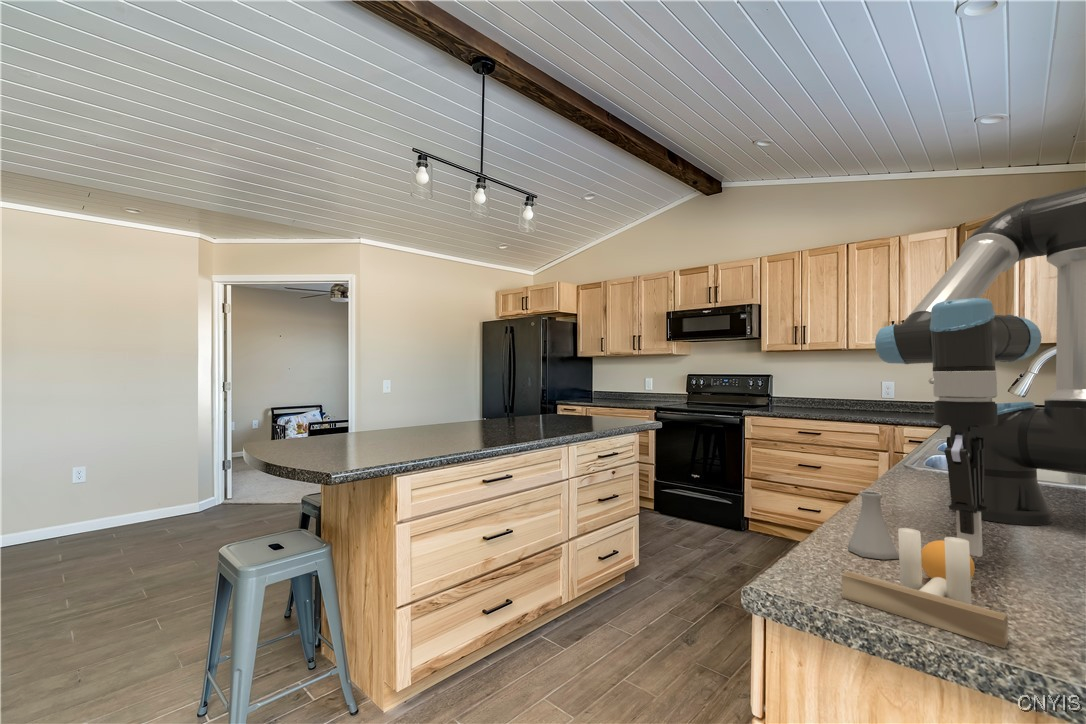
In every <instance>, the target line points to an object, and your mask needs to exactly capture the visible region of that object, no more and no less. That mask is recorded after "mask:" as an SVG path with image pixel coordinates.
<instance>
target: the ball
mask: <svg viewBox="0 0 1086 724" xmlns="http://www.w3.org/2000/svg"><path fill="white" fill-rule="evenodd" d="M921 560H922V571H924V573H925V574H926V576H928V578H930V580H931V579H932V578H934V577H941V578H944V579H945V580H946V565H945V539H943V540H933V541H930V542H928V543H927V544H925V545H924V546H923V547H922V548H921ZM975 567H976V566H975V563H974V560H973V558H972V555H970V578H971V580H972V579H973V576H974V575H975V571H976V569H975Z"/></svg>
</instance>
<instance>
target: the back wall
mask: <svg viewBox="0 0 1086 724" xmlns="http://www.w3.org/2000/svg"><path fill="white" fill-rule="evenodd" d="M841 591H842V593H841V594H842V595H841V598H842V599H846V600H848V601H852V602H854V603H859V604H861V605H865V606H867V607H871V608H873V609H878V610H879V611H880V610H881V611H883V612H887V613H890V614H893V615H897V616H900V617H903V618H906V619H910V620H913V621H916V622H919V623H922V624H924V625H925V624H926V625H928V626H932V627H935V628H938V629H941V630H945V631H949V632H951V633H954V634H957V635H960V636H962V637H963V636H964V637H968V638H970V639H974V640H977V641H980V642H983V643H987V644H989V645H992V646H996V647H999V648H1002V649H1006V647H1007V645H1008V644H1009V627H1008V626H1009V624H1008V622H1009V621H1008V619H1009V618H1008V614H1006V613H1003V612H999V611H996V610H992V609H988V608H986V607H985V608H984V607H981V606H977V605H974V604H972V603H971V604H967V603H963V602H960V601H956V600H952V599H949V598H945V597H941V596H938V595H934V594H930V593H927V592H923V591H919V590H916V589H912V588H908V587H905V586H901V585H900V584H897V583H894V582H891V581H885V580H883V579H882V580H881V579H878V578H874V577H871V576H868V575H864V574H861V573H857V572H852V571H849V570H847V571H845V572H844V573H842V574H841Z"/></svg>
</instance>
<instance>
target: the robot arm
mask: <svg viewBox="0 0 1086 724" xmlns="http://www.w3.org/2000/svg"><path fill="white" fill-rule="evenodd" d="M958 256H959V257H957V258H956V259H955V260H954V262H953V263H952V265H950V267H949V268H948V269H947V270H946V271H945V273H944V274H943V275H942V276H941V277H940V278H939V280H938V281H937V282H936V283H935V285H933V287H932V288H931V289H930V290H929V291H928V293H927V294H926V295H925V297H923V299H922V300H921V301H920V302H919V303H918V304H917V305H916V307H915V308H914V309H913V310H912V311H911V313H910V314H909V315H908V316H907V317H906V318H905V319H904V321H903V322H902V323H900V324H896V323H893V324H891V325H886V326H883V327H882V328H880V329H879V330H878V331H877V334H876V336H875V339H874V341H875V343H874V346H875V351H876V353H877V355H878V358H880V359H881V360H882V361H883V362H885V363H887V364H901V365H902V364H903V365H911V364H912V365H914V364H917V365H918V364H932V377H930V378H929V379H928V384H930V385H933V387H932V388H933V396H934V397H936V398H938V400H935V401H934V402H933V420H934V423H935V424H937V425H941V426H949V427H950V432H949V433H950V435H949V436H948V437H946V447H945V448H944V450H943V451H944V455H945V459H946V463H947V465H946V466H947V473H948V482H949V492H950V502H951V503H950V505H949V506H948V508H949V510H953V512H955V519H956V538H961V539H965V540H967V541H969V552H970V556H974V557H978V558H981V557H982V556H983V554H984V553H983V551H984V550H983V549H984V548H983V532H982V531H983V529H982V526H983V525H982V523H983V522H982V520H984V521H990V522H996V523H1002V524H1012V525H1024V526H1025V525H1026V526H1028V525H1029V526H1039V525H1048V524H1051V523H1052V510H1051V508H1050V505H1049V503H1048V501H1047V498H1045V495H1044V493H1043V490H1042V489H1041V487H1040V484H1039V482H1038V472H1037V471H1038V470H1045V471H1052V472H1060V473H1067V474H1074V475H1075V474H1076V475H1083V476H1086V185H1082V186H1079V187H1078V186H1077V187H1075V188H1071V189H1066V190H1063V191H1059V192H1056V193H1051V194H1048V195H1044V196H1041V197H1040V196H1039V197H1037V198H1032V199H1028V200H1024V201H1021V202H1019V203H1016V204H1014V205H1012V206H1009V207H1008V208H1006V209H1004V210H1002V211H1001V212H999V213H997V214H996V215H994V216H993V217H991V218H990V219H988V220H987V221H986V222H984V223H983V224H982V225H980V227H978V228H977V229H976V230H975V231H973V232H972V234H971V235H970V236H969V237H968V238H966V240H965V241H964V242H963V244H962V245H961V247H960V249H959V255H958ZM1044 256H1046V262H1047V263H1049V264H1051V265H1052V266H1053V267H1055V268H1057V270H1056V271H1057V274H1056V276H1057V277H1056V278H1057V279H1056V280H1057V281H1056V286H1057V287H1056V343H1055V344H1056V345H1055V346H1056V350H1055V352H1056V353H1055V356H1056V357H1055V364H1056V365H1055V391H1054V392H1053V393H1051V394H1050V395H1048V396H1047V397H1045V398H1044V401H1043V403H1044V407H1043V409H1040V408H1038V409H1037V408H1036V405H1035V403H1034V402H1033V401H1018V402H1016V401H1015V402H1004V403H1001V402H1000V403H996V402H995V401H994V400H993V399H995V398H997V397H998V385H997V384H998V381H997V371H996V370H997V369H996V362H1000V363H1006V362H1008V363H1012V362H1013V363H1014V362H1016V361H1021V360H1024V359H1027V358H1029V357H1030V356H1032V355H1033V354H1035V353H1036V352H1037V351H1038V349H1039V347H1040V346H1041V343H1042V333H1041V330H1040V328H1039V327H1038V326H1037V324H1036V323H1034V322H1033V321H1032V320H1030V319H1028V318H1025V317H1022V316H1021V317H1020V316H1018V315H1013V314H1006V315H1005V314H1003V315H1002V314H996V313H995V310H994V305H993V302H992V301H991V299H988V298H982V297H983V296H984V294H985V293H986V292H987V291H988V289H989V287H990V286H992V284H993V283H995V282H994V281H995V280H996V279H997V278H998V277H999V275H1000V274H1001V273H1005V272H1007V271H1008V270H1010V269H1012V268H1013V267H1014V266H1015V264H1017V263H1018V262H1019V261H1023V260H1026V259H1031V258H1037V257H1044Z"/></svg>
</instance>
